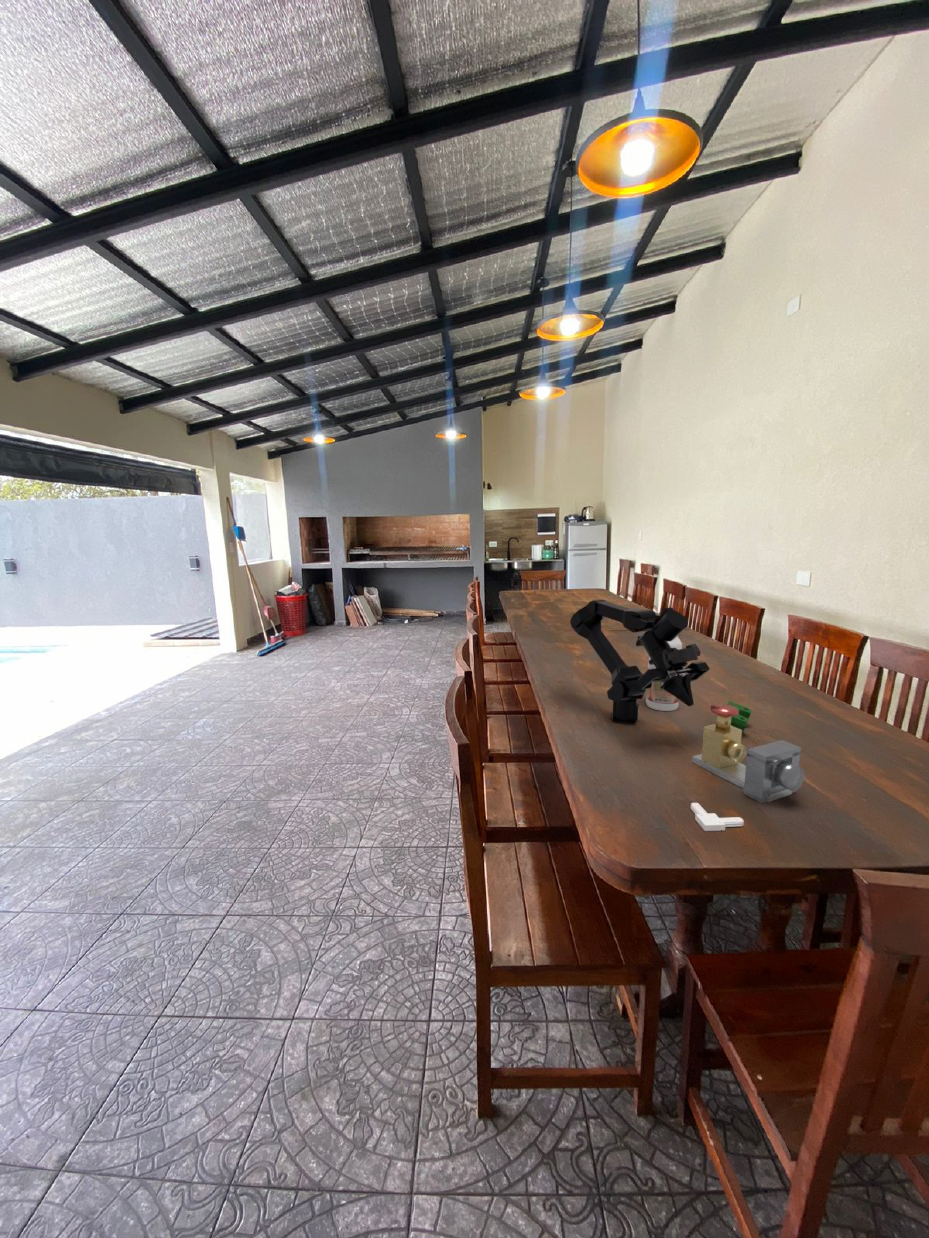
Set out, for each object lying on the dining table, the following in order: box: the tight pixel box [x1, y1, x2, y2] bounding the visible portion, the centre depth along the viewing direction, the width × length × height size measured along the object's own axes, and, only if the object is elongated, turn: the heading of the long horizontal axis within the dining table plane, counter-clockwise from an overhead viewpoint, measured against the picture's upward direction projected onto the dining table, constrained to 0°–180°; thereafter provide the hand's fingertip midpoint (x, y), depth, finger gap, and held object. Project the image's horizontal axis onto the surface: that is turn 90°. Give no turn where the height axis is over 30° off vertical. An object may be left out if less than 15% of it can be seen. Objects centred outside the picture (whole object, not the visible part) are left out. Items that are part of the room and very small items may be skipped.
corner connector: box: [690, 802, 745, 832], centre depth 95 cm, size 8×8×2 cm
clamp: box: [726, 700, 752, 735], centre depth 136 cm, size 12×6×9 cm, turn 139°
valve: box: [701, 703, 748, 768], centre depth 112 cm, size 8×6×13 cm
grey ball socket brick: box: [692, 739, 806, 804], centre depth 108 cm, size 22×10×10 cm, turn 23°
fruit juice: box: [645, 635, 683, 712], centre depth 151 cm, size 9×9×28 cm
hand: (691, 705), depth 121 cm, fingers closed
